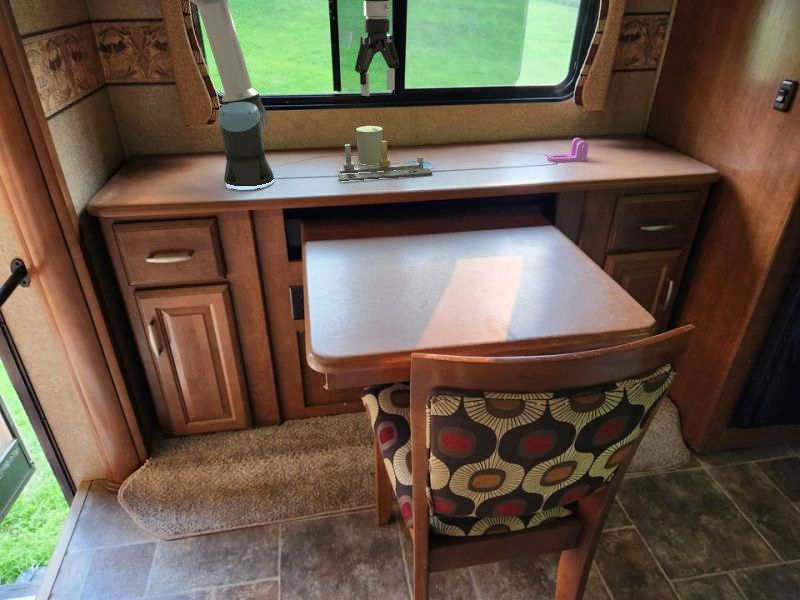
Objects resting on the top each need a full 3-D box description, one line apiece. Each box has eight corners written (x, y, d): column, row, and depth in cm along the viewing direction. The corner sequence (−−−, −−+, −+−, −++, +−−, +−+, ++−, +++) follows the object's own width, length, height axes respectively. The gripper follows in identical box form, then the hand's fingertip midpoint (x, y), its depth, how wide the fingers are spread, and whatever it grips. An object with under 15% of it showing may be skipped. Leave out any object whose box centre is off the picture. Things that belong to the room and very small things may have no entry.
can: (372, 167, 178) (371, 131, 171) (352, 163, 182) (350, 128, 176) (389, 161, 184) (388, 126, 178) (369, 157, 189) (367, 123, 183)
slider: (381, 167, 172) (380, 142, 168) (379, 164, 174) (378, 140, 170) (389, 166, 172) (389, 142, 168) (388, 164, 175) (387, 140, 171)
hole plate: (340, 182, 164) (340, 179, 163) (338, 178, 168) (338, 174, 167) (432, 175, 169) (432, 172, 169) (428, 170, 173) (428, 167, 173)
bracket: (579, 157, 186) (582, 137, 183) (585, 161, 181) (589, 141, 178) (544, 158, 185) (546, 138, 181) (549, 163, 180) (552, 142, 177)
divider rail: (340, 175, 170) (338, 146, 165) (339, 172, 173) (337, 144, 168) (423, 168, 175) (423, 140, 171) (420, 166, 178) (421, 138, 173)
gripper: (361, 19, 146) (363, 99, 157) (410, 16, 164) (409, 88, 174) (340, 18, 150) (344, 96, 160) (390, 16, 167) (391, 86, 178)
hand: (378, 92), depth 167 cm, fingers open, 13 cm apart
